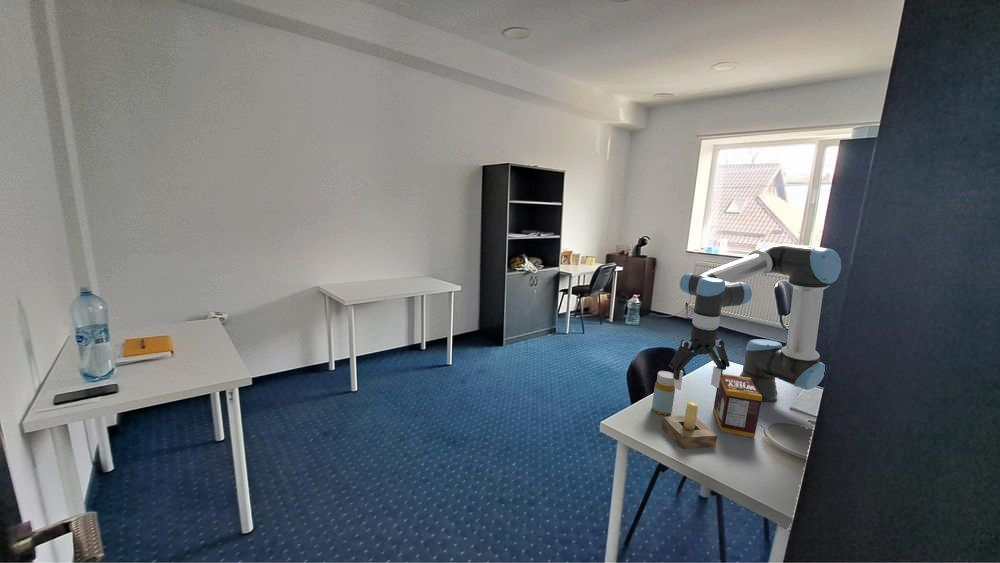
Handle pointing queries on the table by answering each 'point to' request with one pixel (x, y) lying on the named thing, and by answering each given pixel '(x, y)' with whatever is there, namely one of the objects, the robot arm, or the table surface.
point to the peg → (690, 416)
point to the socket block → (689, 433)
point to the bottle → (663, 393)
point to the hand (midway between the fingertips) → (696, 387)
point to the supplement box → (737, 405)
